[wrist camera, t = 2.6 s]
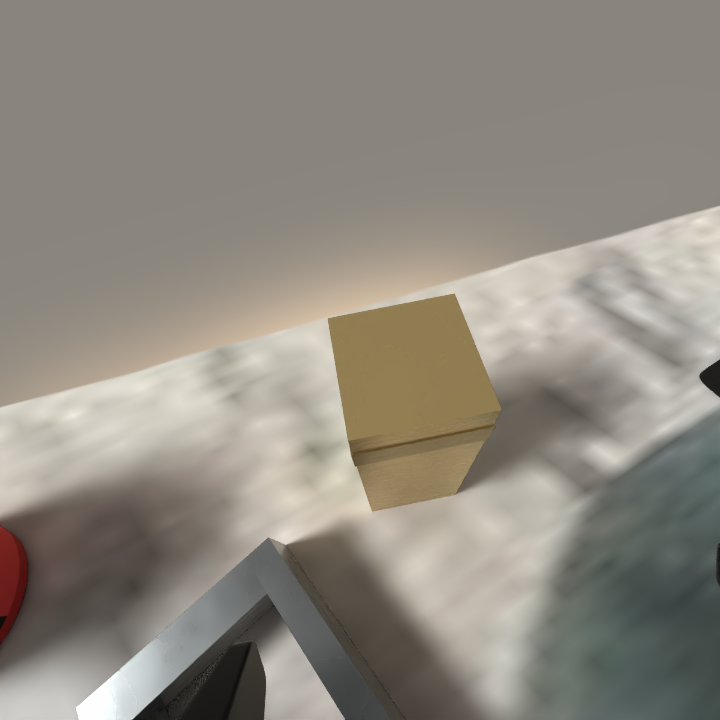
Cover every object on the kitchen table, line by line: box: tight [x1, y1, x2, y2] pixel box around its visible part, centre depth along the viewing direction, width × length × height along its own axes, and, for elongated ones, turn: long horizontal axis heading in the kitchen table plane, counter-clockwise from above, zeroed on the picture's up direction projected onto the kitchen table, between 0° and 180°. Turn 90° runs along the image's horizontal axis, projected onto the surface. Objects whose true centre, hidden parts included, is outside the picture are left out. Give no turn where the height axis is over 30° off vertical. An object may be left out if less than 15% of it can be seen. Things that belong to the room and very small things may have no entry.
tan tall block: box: [328, 294, 502, 511], centre depth 17 cm, size 5×5×11 cm
